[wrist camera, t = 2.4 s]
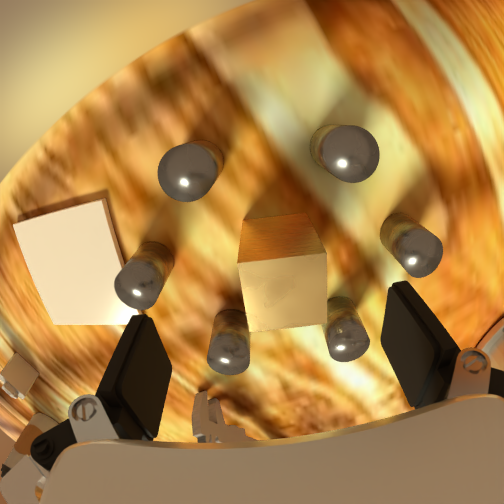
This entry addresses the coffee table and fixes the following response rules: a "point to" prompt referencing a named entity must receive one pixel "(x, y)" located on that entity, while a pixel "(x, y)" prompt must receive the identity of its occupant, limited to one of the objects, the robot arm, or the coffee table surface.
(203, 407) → the caliper
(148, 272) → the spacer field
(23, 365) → the lighter
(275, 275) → the tan rectangular block
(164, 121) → the coffee table surface
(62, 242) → the coaster
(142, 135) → the coffee table surface
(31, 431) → the coffee cup
